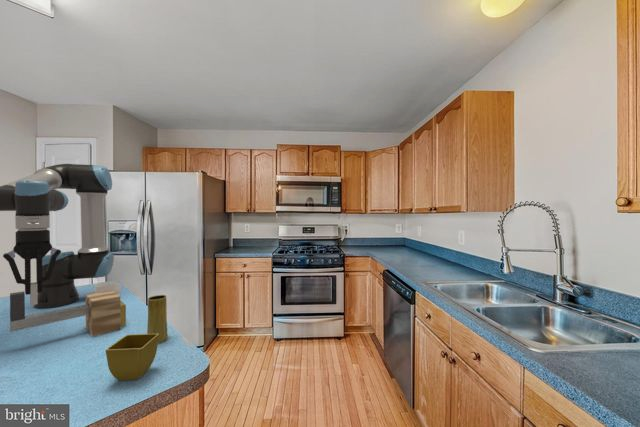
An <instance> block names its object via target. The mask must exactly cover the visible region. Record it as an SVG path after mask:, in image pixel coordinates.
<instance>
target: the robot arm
mask: <svg viewBox="0 0 640 427" xmlns="http://www.w3.org/2000/svg"><path fill="white" fill-rule="evenodd" d="M112 179H113V178H112V176H111V172H110V170H109V169H108V168H107V167H106V166H104V165H98V164H79V163H78V164H77V163H61V164H60V163H59V164H54V165H50V166H47V167H46V166H45V167H43V168H39V169H37V170H36V171H34V173H33V174H31V175H29V176H25V177H22V178H20V179H17V180H14V181H12V182H8V183H6V184H3V185H1V186H0V212H15V216H14V219H15V220H14V222H15V229H16V232H15V245H14V247H13V248H12V249H13V250H10V251H8V252H4V253H3V255H2V257H3V258H4V259H5V260H6V261H7V262H8V264H9V266H10V268H11V272H12V274H13V277H14V279H15V283H17V285H19V284H20V285H21V284H22V285H24V292H25V295H26V296H28V295H30V296H29V299H30V302H29V304H30V306H33V308H36V309H51V308H58V307H63V306H68V305H70V304H71V305H72V304H73V303H76V302H78V301H79V300H80V293H79V292H78V289H77V288H76V285H75V280H79V279H81V280H82V279H99V278H104V277H107V276H109V274H110V273H111V272H112V269H113V266H114V260H115V258H114V257H115V256H114V252H113V253H112V252H110V250H109V248H108V247H107V246H106V245H105V242H106V239H105V199H104V198H105V197H106V196H107V195H108V191H111V190H112V188H113V180H112ZM58 189H59V190H58ZM60 189H61V190H62V189H64V190H65V189H66V190H75V193H76V195H78V196H79V197H80V228H81V229H80V232H81V236H80V237H81V248H79V249H78V250H77V253H76V254H75V252H74V251H69V250H68V251H65V252H64V251H63V252H62V251H61V249H59V248H55V247H53V245H52V244H51V231H50V230H49V229H50V226H51V224H50V223H51V222H50V221H51V219H50V212H58V211H62V210H63V209H65V208H66V207H67V206H68V204H69V198H68V196H67V194H65V193H64V192H63V191H60ZM48 253H50V254H48ZM16 254H17V255H18V256H19V257H20V258H21V259H23V260H24V278H22V276H21V274H20V271H19V268H18V265H17V263H16V260H15V258H16ZM33 259H35V260H36V264H35V265H36V266H35V267H36V272H35V273H36V282H32V271H31V270H32V269H31V268H32V267H31V266H32V264H31V263H32V262H31V260H33Z"/></svg>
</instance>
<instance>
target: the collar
mask: <svg viewBox="0 0 640 427" xmlns="http://www.w3.org/2000/svg"><path fill="white" fill-rule="evenodd" d="M126 308H127V305H126V303H124V302H123V301H122V300H120V316H121V328H122V327H126V326H127V310H126Z"/></svg>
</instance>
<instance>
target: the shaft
mask: <svg viewBox="0 0 640 427" xmlns="http://www.w3.org/2000/svg"><path fill="white" fill-rule="evenodd" d="M25 295H26V294H25V290H24V291H18V292H12V293H9V321H10V322H9V327H10V328H9V330H10V331H9V332H16V331H17V332H18V331H21V330H26V329H29V328H33V327H38V326H43V325H48V324H51V323H52V324H53V323H58V322H62V321H66V320H70V319H71V320H72V319H76V318H80V317H84V316H85V317H86V315H90V305H89V304H86V303H85V304H82V305H77V306H71V307H67V308H61V309H55V310H51V311H46V312H41V313H40V312H39V313H35V314H32V315H26V311H25V310H26V308H25V307H26V306H25V305H26V304H25V303H26V296H25ZM25 315H26V316H25Z"/></svg>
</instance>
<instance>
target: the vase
mask: <svg viewBox="0 0 640 427" xmlns="http://www.w3.org/2000/svg"><path fill="white" fill-rule="evenodd" d="M147 301H148V302H147V328H146V329H147V331H146V334H159V338H158V344H160V343H163V342H165V341H167V340H168V339H169V335H168V320H167V313H168V312H167V307H168V306H167V294H166V295H165V294H157V295H153V296H149V297H148V298H147Z"/></svg>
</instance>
